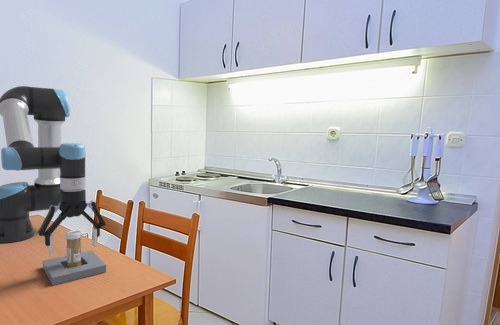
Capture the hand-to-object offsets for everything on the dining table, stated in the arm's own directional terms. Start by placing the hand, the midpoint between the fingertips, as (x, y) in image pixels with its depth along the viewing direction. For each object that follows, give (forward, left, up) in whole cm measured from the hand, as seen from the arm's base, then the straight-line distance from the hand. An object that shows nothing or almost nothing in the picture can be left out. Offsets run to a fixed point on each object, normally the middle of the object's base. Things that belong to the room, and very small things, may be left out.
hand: (73, 250), depth 111 cm
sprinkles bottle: (0, 0, -7) cm, 7 cm away
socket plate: (0, 0, -7) cm, 7 cm away
